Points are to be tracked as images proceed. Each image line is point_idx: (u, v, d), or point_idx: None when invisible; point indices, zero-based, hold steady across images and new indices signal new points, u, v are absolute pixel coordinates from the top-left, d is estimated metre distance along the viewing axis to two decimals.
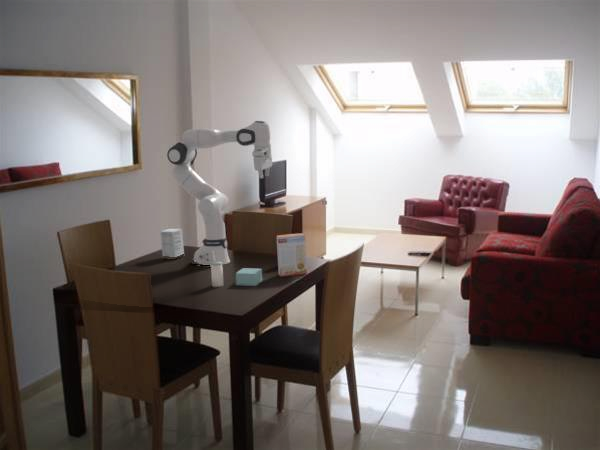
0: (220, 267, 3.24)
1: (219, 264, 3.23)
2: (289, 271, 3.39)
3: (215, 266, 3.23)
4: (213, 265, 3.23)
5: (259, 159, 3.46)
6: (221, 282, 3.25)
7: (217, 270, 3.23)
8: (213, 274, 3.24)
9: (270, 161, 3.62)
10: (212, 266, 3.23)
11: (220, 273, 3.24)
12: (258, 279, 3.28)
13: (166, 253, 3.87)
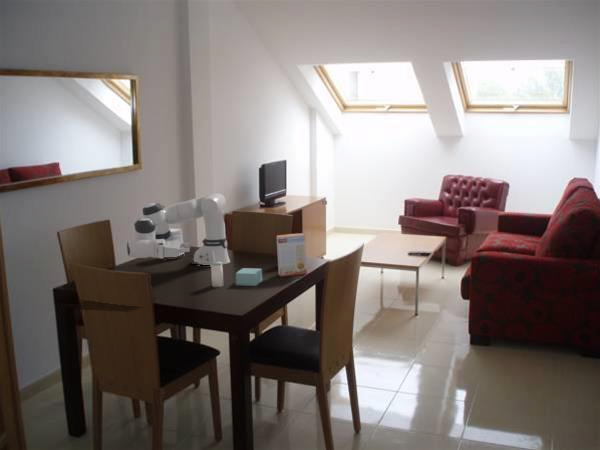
0: (220, 267, 3.24)
1: (219, 264, 3.23)
2: (289, 271, 3.39)
3: (215, 266, 3.23)
4: (213, 265, 3.23)
5: (166, 249, 3.11)
6: (221, 282, 3.25)
7: (217, 270, 3.23)
8: (213, 274, 3.24)
9: (174, 241, 3.27)
10: (212, 266, 3.23)
11: (220, 273, 3.24)
12: (258, 279, 3.28)
13: None
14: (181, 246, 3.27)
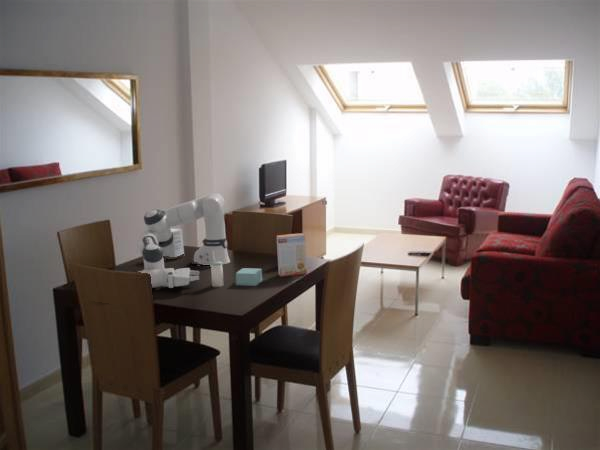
0: (220, 267, 3.24)
1: (219, 264, 3.23)
2: (289, 271, 3.39)
3: (215, 266, 3.23)
4: (213, 265, 3.23)
5: (176, 279, 3.14)
6: (221, 282, 3.25)
7: (217, 270, 3.23)
8: (213, 274, 3.24)
9: (183, 269, 3.30)
10: (212, 266, 3.23)
11: (220, 273, 3.24)
12: (258, 279, 3.28)
13: (166, 253, 3.87)
14: (190, 274, 3.29)
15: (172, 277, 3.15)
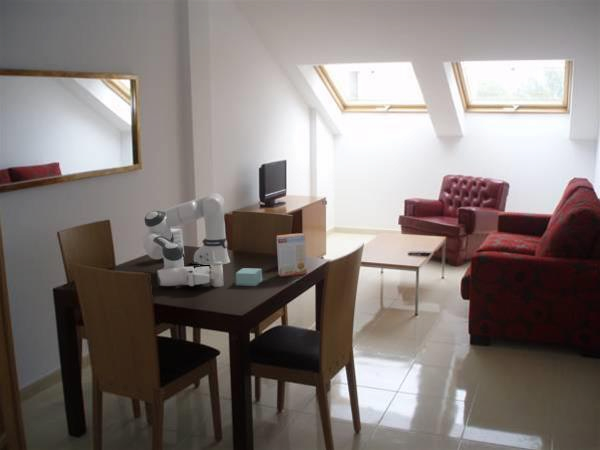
0: (220, 267, 3.24)
1: (219, 264, 3.23)
2: (289, 271, 3.39)
3: (215, 266, 3.23)
4: (213, 265, 3.23)
5: (196, 277, 3.16)
6: (221, 282, 3.25)
7: (217, 270, 3.23)
8: None
9: (203, 267, 3.31)
10: (212, 266, 3.23)
11: (220, 273, 3.24)
12: (258, 279, 3.28)
13: None
14: (210, 273, 3.30)
15: (192, 275, 3.16)
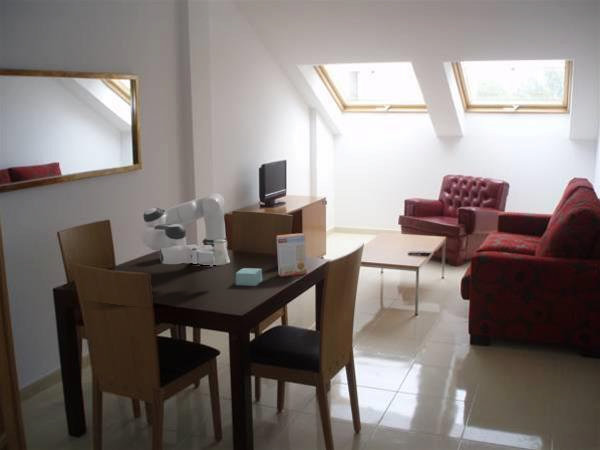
0: (223, 245, 3.22)
1: (222, 242, 3.21)
2: (289, 271, 3.39)
3: (218, 244, 3.21)
4: (216, 243, 3.21)
5: (200, 254, 3.13)
6: (224, 260, 3.23)
7: (220, 248, 3.21)
8: None
9: (205, 246, 3.29)
10: (215, 244, 3.21)
11: (223, 251, 3.22)
12: (258, 279, 3.28)
13: None
14: (212, 251, 3.28)
15: (196, 253, 3.14)
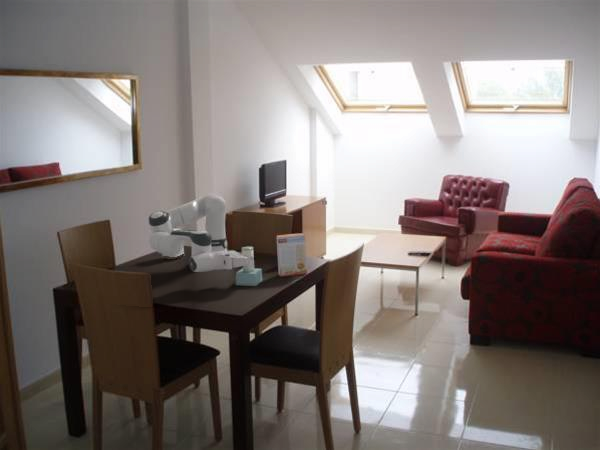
0: (252, 252, 3.26)
1: (251, 249, 3.25)
2: (289, 271, 3.39)
3: (248, 251, 3.25)
4: (246, 250, 3.24)
5: (235, 260, 3.15)
6: (253, 267, 3.28)
7: (250, 255, 3.25)
8: None
9: (230, 252, 3.30)
10: (245, 251, 3.25)
11: None
12: (258, 279, 3.28)
13: None
14: None
15: (231, 258, 3.15)
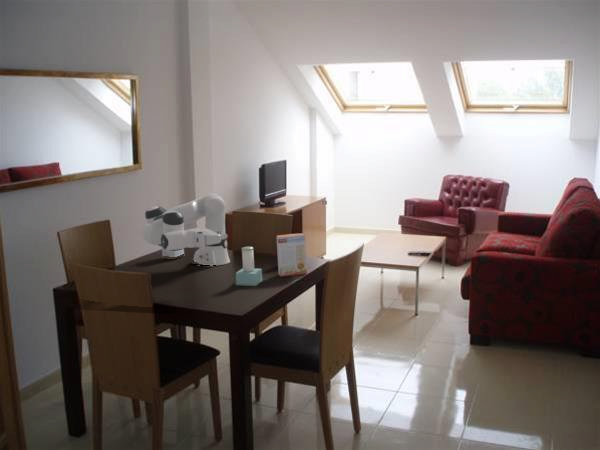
0: (252, 252, 3.26)
1: (252, 249, 3.25)
2: (289, 271, 3.39)
3: (248, 251, 3.24)
4: (246, 250, 3.24)
5: (208, 237, 3.07)
6: (253, 267, 3.28)
7: (250, 255, 3.25)
8: (246, 259, 3.25)
9: (204, 230, 3.23)
10: (245, 252, 3.25)
11: (252, 258, 3.26)
12: (258, 279, 3.28)
13: (166, 253, 3.87)
14: None
15: (204, 236, 3.07)
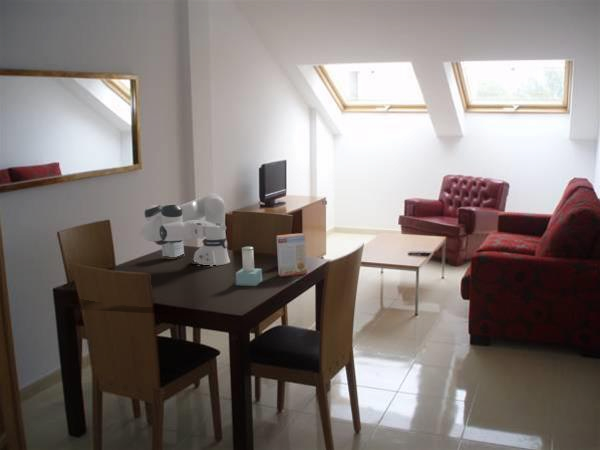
0: (252, 252, 3.26)
1: (252, 249, 3.25)
2: (289, 271, 3.39)
3: (248, 251, 3.24)
4: (246, 250, 3.24)
5: (207, 228, 3.07)
6: (253, 267, 3.28)
7: (250, 255, 3.25)
8: (246, 259, 3.25)
9: (202, 222, 3.23)
10: (245, 252, 3.25)
11: (252, 258, 3.26)
12: (258, 279, 3.28)
13: (166, 253, 3.87)
14: None
15: (203, 227, 3.07)
